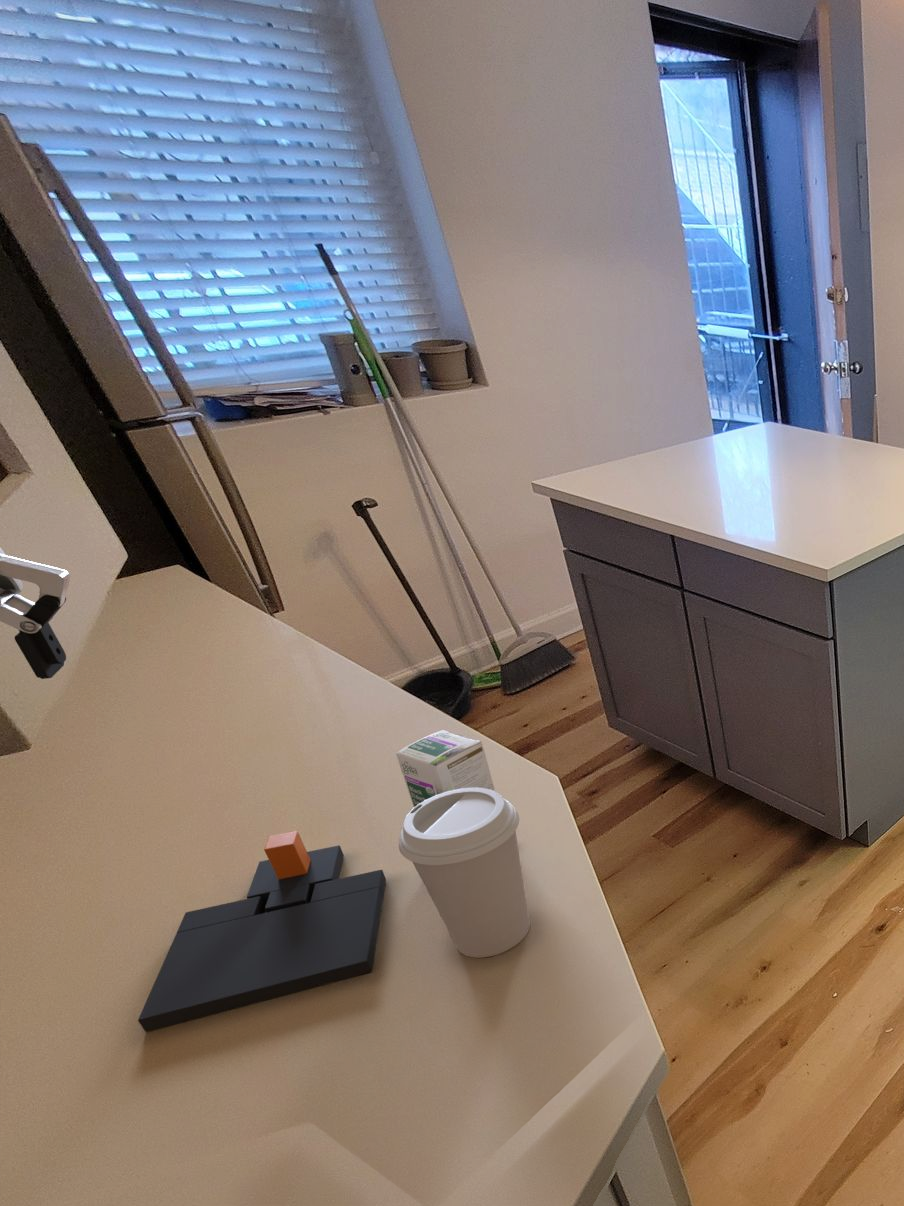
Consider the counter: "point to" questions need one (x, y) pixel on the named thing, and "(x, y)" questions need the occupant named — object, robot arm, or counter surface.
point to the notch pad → (266, 950)
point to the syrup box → (443, 765)
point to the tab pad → (297, 884)
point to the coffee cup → (470, 867)
